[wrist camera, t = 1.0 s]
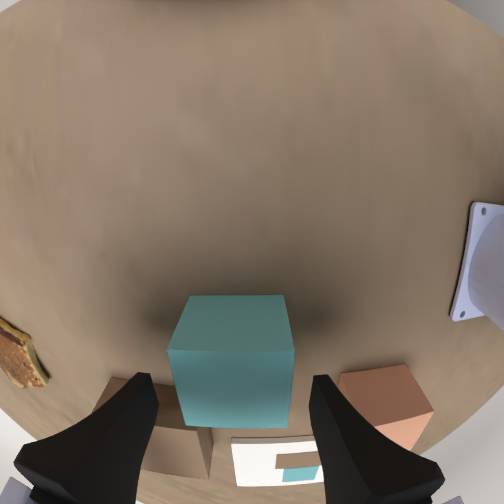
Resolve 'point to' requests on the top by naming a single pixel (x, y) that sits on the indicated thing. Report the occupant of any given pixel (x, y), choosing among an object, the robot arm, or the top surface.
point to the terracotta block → (389, 402)
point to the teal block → (233, 361)
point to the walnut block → (171, 436)
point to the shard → (20, 358)
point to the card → (276, 461)
